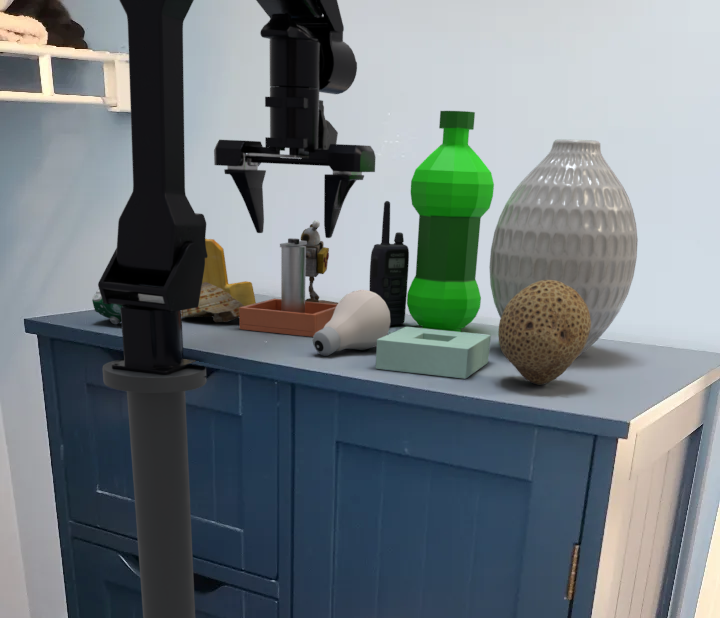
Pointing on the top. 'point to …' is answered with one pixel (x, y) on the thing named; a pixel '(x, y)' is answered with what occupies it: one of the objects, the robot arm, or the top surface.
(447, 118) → the plastic bottle
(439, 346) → the green square holed block
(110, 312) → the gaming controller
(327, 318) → the dish
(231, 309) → the seashell
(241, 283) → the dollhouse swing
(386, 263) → the two-way radio
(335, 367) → the top surface
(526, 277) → the vase
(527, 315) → the natural sponge
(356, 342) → the light bulb
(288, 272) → the silver cylinder with crossbar
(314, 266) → the robot figurine
